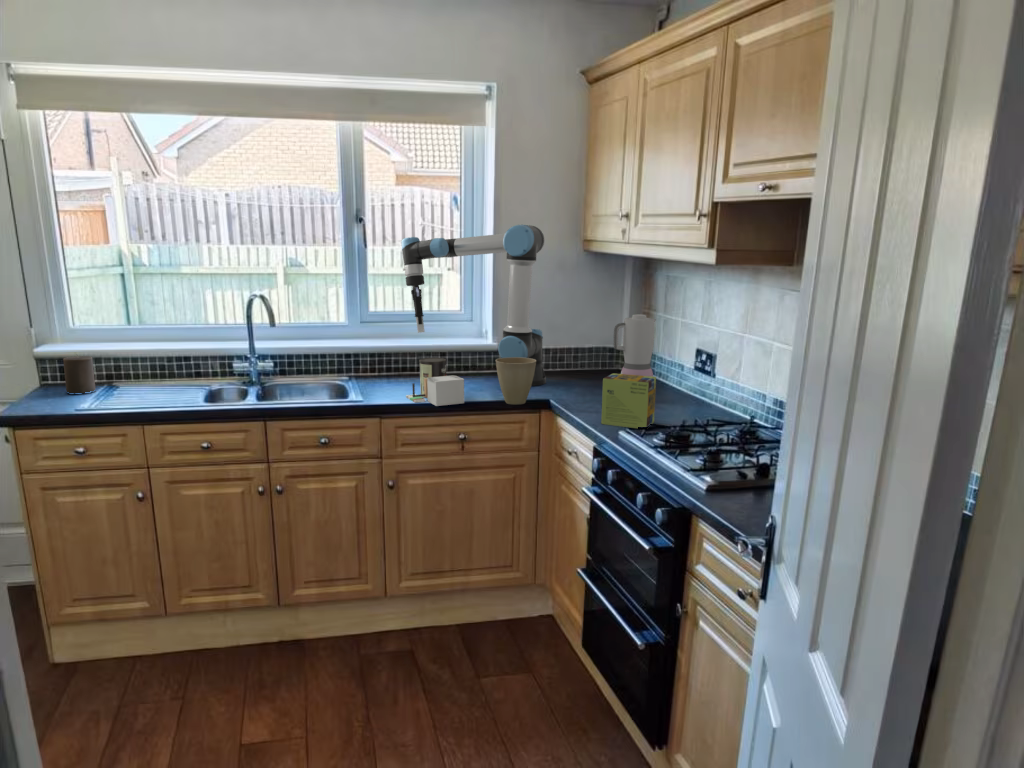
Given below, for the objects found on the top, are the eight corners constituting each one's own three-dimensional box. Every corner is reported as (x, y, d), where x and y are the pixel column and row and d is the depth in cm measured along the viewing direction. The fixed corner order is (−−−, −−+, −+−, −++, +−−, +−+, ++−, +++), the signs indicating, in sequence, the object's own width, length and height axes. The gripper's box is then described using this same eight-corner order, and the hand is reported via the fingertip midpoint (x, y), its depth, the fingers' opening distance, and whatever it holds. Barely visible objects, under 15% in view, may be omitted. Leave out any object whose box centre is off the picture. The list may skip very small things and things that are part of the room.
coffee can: (448, 392, 273) (448, 357, 270) (444, 398, 263) (444, 362, 260) (422, 392, 273) (422, 357, 271) (417, 398, 263) (417, 361, 260)
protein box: (647, 429, 221) (649, 382, 218) (600, 424, 227) (602, 377, 224) (654, 422, 230) (657, 376, 227) (610, 417, 237) (611, 372, 234)
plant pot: (541, 405, 253) (542, 362, 250) (503, 408, 248) (503, 364, 245) (527, 396, 267) (527, 355, 264) (490, 399, 262) (490, 357, 259)
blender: (647, 395, 270) (650, 313, 264) (656, 402, 259) (661, 316, 252) (607, 396, 269) (610, 313, 262) (615, 403, 257) (618, 316, 250)
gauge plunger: (451, 394, 266) (451, 376, 265) (459, 398, 259) (459, 379, 258) (412, 398, 259) (411, 379, 257) (419, 402, 252) (419, 383, 251)
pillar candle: (73, 396, 263) (68, 357, 260) (62, 392, 269) (58, 354, 266) (100, 392, 271) (96, 354, 268) (89, 388, 276) (85, 351, 273)
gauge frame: (444, 393, 272) (444, 370, 270) (464, 403, 256) (464, 379, 254) (405, 397, 265) (405, 374, 263) (423, 407, 249) (422, 382, 247)
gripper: (404, 278, 293) (411, 333, 295) (406, 274, 281) (413, 332, 282) (422, 276, 295) (428, 331, 297) (424, 273, 282) (431, 331, 284)
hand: (421, 332), depth 289 cm, fingers closed
